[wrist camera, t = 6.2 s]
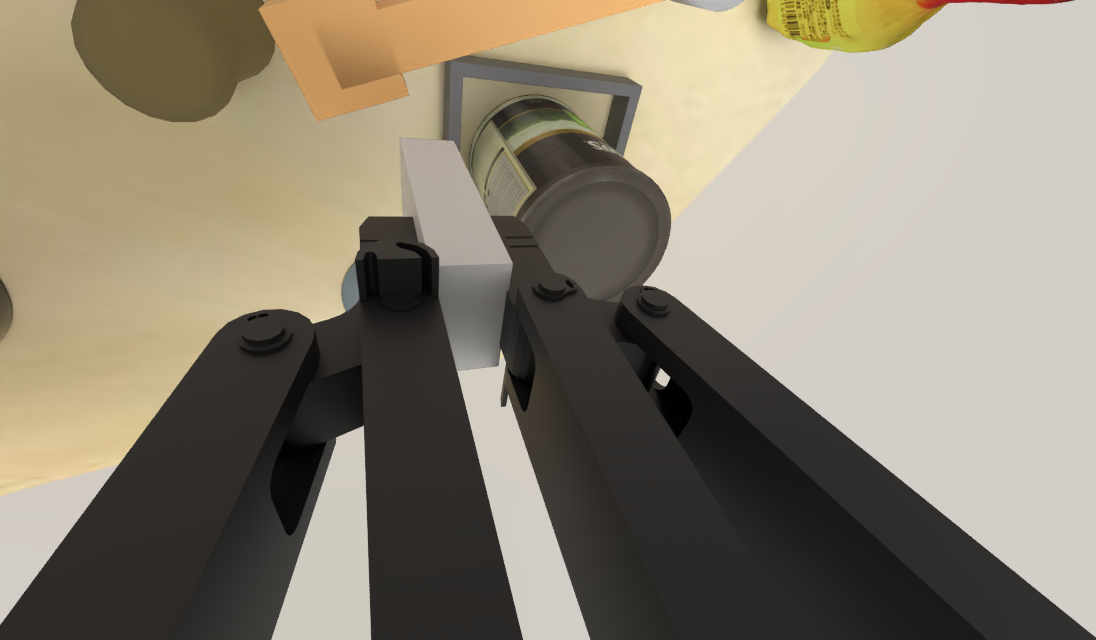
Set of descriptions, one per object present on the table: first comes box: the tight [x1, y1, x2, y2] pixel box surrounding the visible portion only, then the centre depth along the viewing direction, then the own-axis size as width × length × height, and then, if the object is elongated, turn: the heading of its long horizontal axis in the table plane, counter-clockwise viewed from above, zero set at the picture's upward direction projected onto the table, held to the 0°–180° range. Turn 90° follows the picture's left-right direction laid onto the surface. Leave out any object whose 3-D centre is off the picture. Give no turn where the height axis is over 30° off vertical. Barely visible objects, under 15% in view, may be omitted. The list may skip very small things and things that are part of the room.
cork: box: [71, 0, 275, 122], centre depth 21 cm, size 6×6×11 cm
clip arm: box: [258, 0, 744, 121], centre depth 15 cm, size 3×17×3 cm, turn 100°
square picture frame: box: [443, 56, 642, 156], centre depth 35 cm, size 14×14×2 cm
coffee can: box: [469, 95, 671, 303], centre depth 31 cm, size 10×10×14 cm
